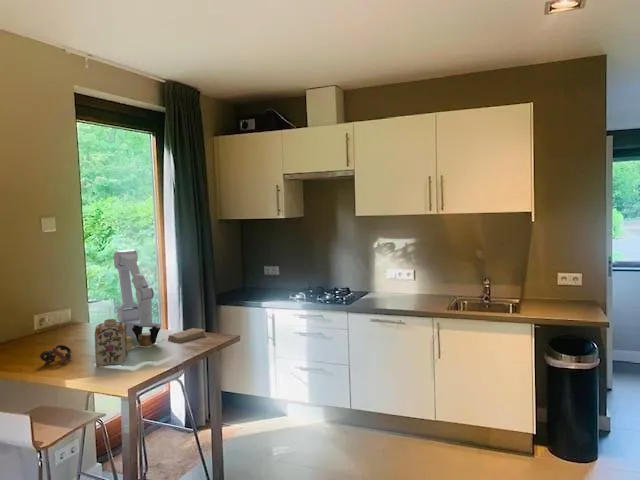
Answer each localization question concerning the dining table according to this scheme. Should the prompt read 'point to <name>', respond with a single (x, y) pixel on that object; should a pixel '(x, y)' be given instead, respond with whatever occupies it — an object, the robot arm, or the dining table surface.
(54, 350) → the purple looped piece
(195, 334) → the brick
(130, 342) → the oak block
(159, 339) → the pad
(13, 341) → the dining table surface
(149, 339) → the walnut block
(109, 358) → the decorative jar
